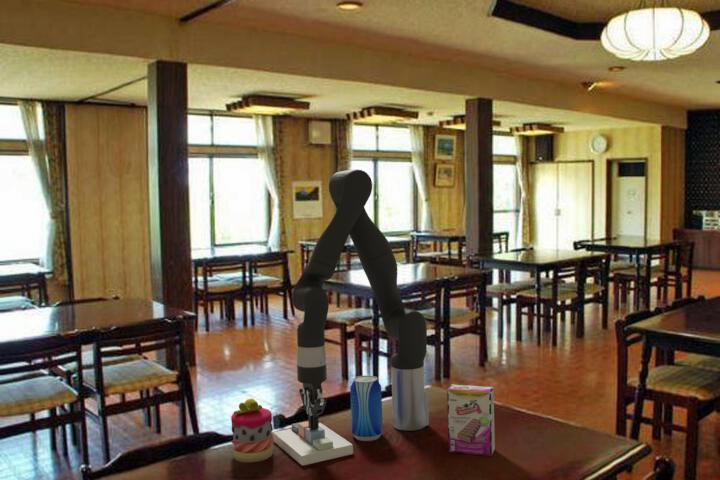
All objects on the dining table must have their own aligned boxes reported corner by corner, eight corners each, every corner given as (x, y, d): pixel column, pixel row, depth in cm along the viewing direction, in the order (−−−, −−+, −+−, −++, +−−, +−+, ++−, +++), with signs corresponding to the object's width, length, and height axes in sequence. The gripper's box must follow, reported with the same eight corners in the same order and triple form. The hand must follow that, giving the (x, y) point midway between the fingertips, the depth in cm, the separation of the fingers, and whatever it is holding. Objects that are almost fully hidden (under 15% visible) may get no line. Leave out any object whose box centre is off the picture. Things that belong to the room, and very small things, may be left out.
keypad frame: (320, 431, 190) (320, 422, 190) (353, 453, 172) (352, 444, 172) (273, 441, 184) (273, 432, 183) (302, 465, 166) (301, 456, 166)
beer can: (380, 442, 180) (377, 383, 178) (349, 441, 181) (346, 382, 180) (385, 431, 188) (383, 374, 187) (355, 430, 189) (353, 374, 188)
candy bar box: (447, 453, 170) (446, 389, 169) (451, 446, 175) (450, 383, 174) (492, 457, 167) (491, 391, 166) (495, 449, 172) (494, 386, 170)
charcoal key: (305, 435, 187) (304, 421, 187) (310, 439, 184) (310, 425, 183) (292, 438, 185) (291, 424, 185) (297, 442, 182) (297, 428, 182)
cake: (228, 452, 177) (225, 395, 176) (267, 444, 181) (265, 389, 180) (237, 466, 167) (234, 406, 166) (279, 458, 171) (276, 399, 170)
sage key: (327, 452, 174) (326, 437, 174) (333, 457, 171) (332, 441, 171) (313, 455, 172) (312, 439, 172) (319, 460, 169) (318, 444, 169)
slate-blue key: (319, 440, 178) (318, 425, 178) (325, 444, 175) (324, 429, 175) (305, 443, 177) (305, 428, 176) (311, 447, 173) (311, 432, 173)
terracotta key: (311, 435, 183) (311, 420, 182) (317, 439, 179) (317, 424, 179) (298, 437, 181) (298, 423, 181) (304, 442, 177) (303, 427, 177)
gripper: (335, 365, 170) (337, 433, 171) (314, 355, 182) (316, 419, 183) (308, 369, 167) (310, 439, 168) (288, 359, 179) (290, 424, 180)
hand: (313, 428), depth 175 cm, fingers closed
